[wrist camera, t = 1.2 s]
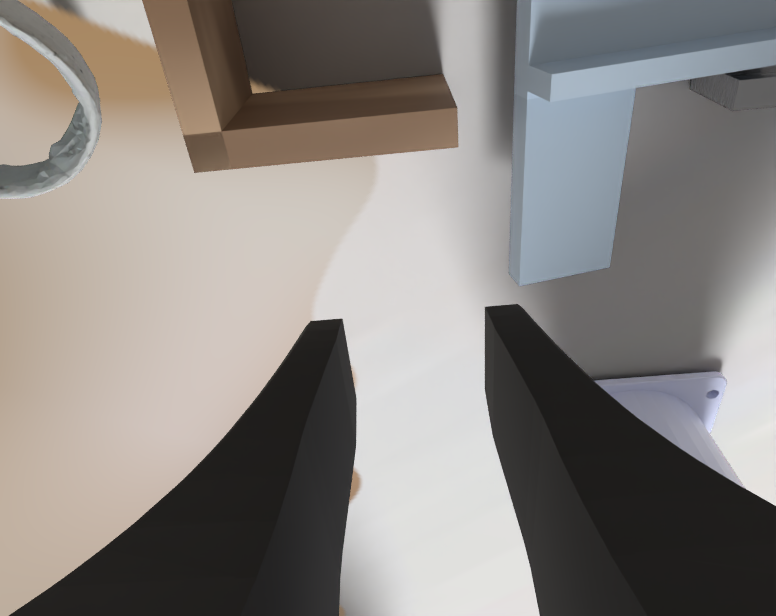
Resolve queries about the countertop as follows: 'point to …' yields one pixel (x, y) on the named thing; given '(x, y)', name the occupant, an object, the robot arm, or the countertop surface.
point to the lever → (603, 109)
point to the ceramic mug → (85, 123)
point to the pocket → (283, 101)
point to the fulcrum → (739, 88)
